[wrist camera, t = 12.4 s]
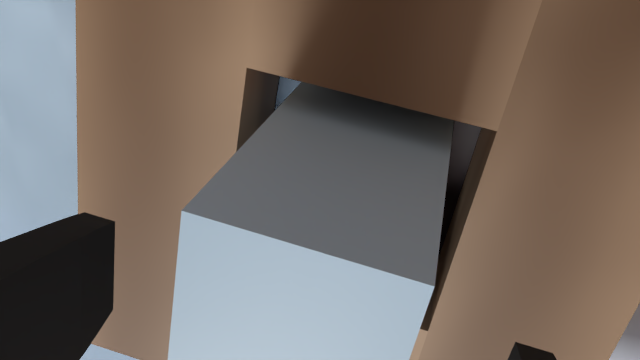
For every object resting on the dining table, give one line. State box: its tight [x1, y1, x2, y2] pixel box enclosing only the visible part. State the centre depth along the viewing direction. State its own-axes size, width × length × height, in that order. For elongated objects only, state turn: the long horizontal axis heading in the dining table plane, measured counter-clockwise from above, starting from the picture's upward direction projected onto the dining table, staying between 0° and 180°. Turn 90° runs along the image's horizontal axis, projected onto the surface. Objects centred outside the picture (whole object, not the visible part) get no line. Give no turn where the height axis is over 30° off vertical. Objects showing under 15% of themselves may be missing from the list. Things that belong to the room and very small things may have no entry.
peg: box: [168, 82, 454, 360], centre depth 14 cm, size 4×4×8 cm
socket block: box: [76, 0, 640, 360], centre depth 16 cm, size 14×14×3 cm
